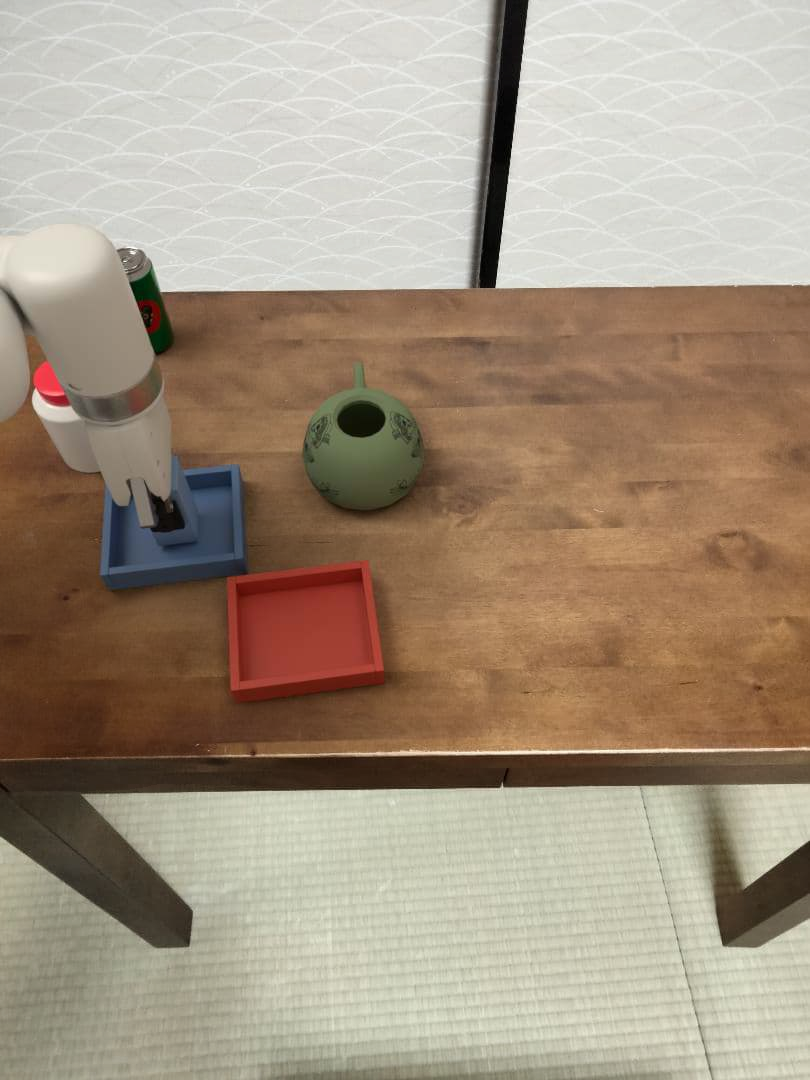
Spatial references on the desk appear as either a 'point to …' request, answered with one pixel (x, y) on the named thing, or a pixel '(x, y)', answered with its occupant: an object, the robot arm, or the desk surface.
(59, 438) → the pill bottle
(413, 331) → the desk surface
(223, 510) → the blue tray
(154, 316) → the soda can
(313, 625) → the red tray
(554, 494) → the desk surface
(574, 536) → the desk surface
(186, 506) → the blue block
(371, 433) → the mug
